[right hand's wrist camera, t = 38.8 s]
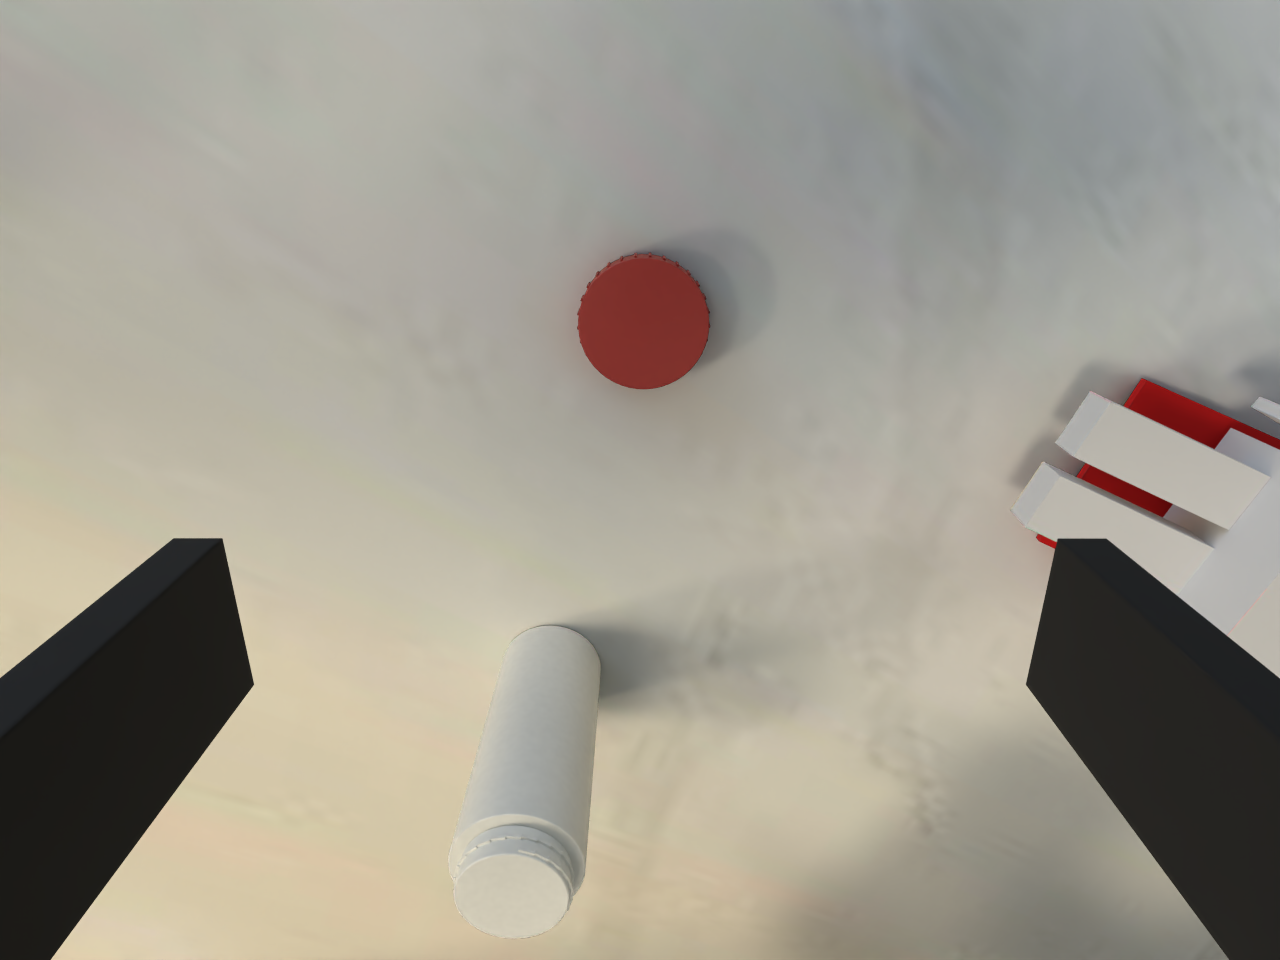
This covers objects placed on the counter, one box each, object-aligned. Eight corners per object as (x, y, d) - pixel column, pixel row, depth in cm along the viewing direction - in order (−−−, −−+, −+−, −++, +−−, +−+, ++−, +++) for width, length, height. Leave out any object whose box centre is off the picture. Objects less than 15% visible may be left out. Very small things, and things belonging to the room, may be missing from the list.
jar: (585, 717, 45) (561, 961, 32) (492, 694, 45) (426, 931, 31) (612, 639, 44) (600, 863, 30) (515, 613, 43) (456, 829, 29)
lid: (583, 245, 36) (581, 249, 34) (715, 258, 36) (719, 263, 34) (575, 375, 38) (572, 384, 36) (699, 386, 38) (702, 396, 37)
